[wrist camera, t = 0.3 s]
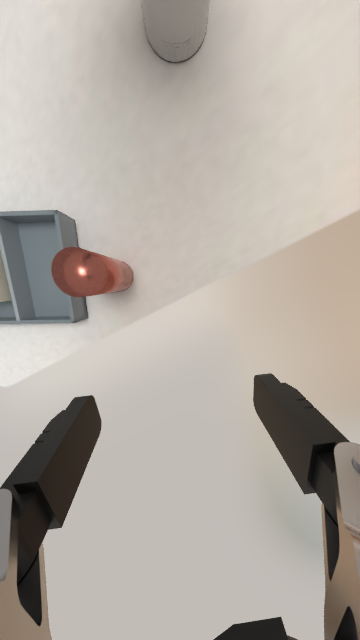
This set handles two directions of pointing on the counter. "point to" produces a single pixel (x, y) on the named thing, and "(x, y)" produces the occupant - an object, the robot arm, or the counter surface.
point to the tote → (36, 267)
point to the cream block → (4, 283)
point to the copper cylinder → (89, 273)
